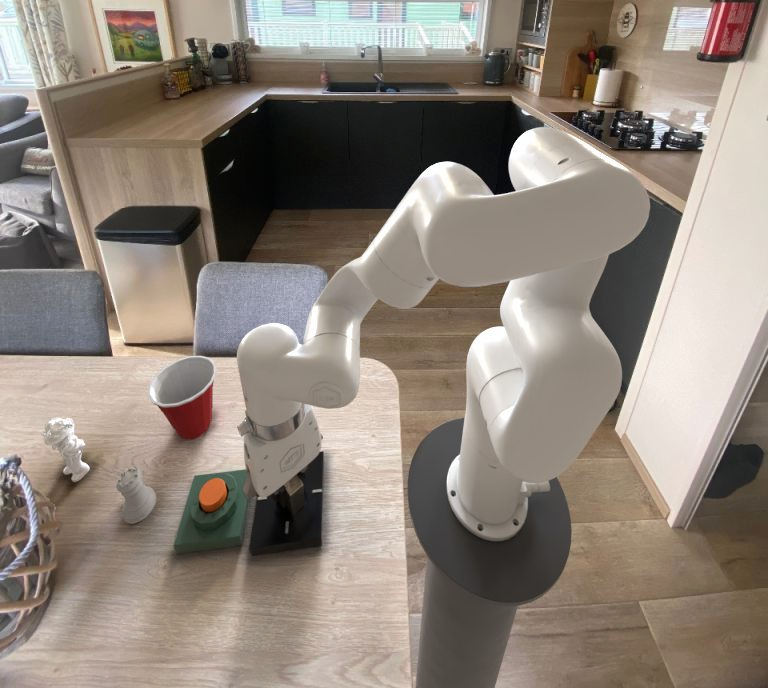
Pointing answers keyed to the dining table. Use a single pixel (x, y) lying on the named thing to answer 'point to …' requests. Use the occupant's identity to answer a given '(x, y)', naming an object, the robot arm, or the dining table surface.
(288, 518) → the panel
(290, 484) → the knob
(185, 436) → the plastic cup
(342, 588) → the dining table surface
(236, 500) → the button block
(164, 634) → the dining table surface
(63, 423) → the hat wearing toy figure
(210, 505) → the button
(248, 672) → the dining table surface
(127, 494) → the rook chess piece
